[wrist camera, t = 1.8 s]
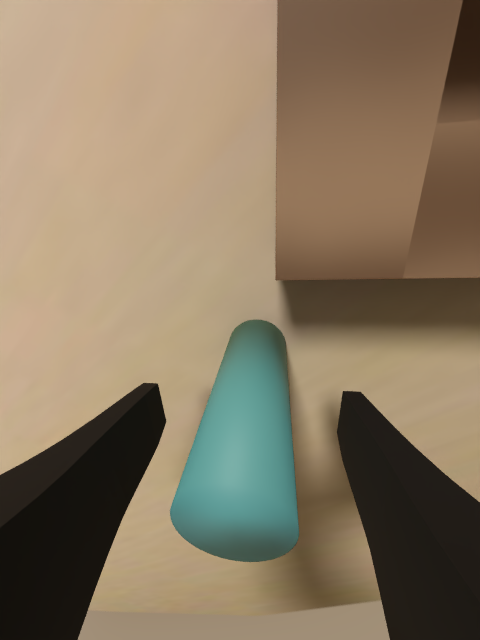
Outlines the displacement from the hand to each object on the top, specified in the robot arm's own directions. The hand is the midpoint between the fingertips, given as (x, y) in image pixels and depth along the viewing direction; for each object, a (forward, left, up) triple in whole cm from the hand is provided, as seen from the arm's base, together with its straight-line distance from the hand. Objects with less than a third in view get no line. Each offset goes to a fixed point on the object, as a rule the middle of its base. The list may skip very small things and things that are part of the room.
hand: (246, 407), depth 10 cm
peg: (0, 0, -5) cm, 5 cm away
